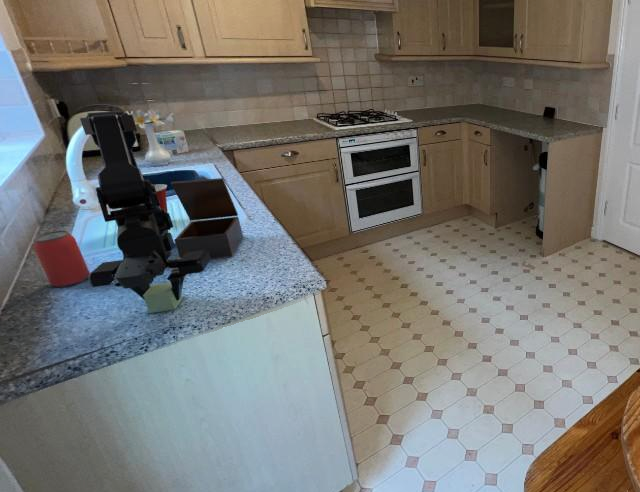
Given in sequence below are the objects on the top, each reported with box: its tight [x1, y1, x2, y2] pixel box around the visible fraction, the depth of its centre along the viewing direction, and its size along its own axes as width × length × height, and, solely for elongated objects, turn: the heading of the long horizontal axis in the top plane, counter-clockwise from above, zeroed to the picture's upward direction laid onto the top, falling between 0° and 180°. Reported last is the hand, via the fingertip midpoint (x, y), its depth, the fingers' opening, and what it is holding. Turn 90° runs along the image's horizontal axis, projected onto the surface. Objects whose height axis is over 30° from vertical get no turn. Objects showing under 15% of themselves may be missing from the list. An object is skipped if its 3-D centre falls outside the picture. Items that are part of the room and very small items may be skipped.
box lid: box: [170, 177, 239, 222], centre depth 112 cm, size 13×11×5 cm
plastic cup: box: [154, 183, 169, 223], centre depth 124 cm, size 11×11×12 cm
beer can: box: [33, 229, 91, 288], centre depth 94 cm, size 7×7×12 cm
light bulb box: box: [155, 129, 190, 156], centre depth 205 cm, size 11×7×11 cm, turn 159°
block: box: [143, 281, 184, 314], centre depth 87 cm, size 4×4×4 cm
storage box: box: [173, 216, 244, 260], centre depth 111 cm, size 12×11×7 cm
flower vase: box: [124, 109, 174, 167], centre depth 184 cm, size 13×18×25 cm
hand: (165, 301), depth 88 cm, fingers closed on block, 4 cm apart
